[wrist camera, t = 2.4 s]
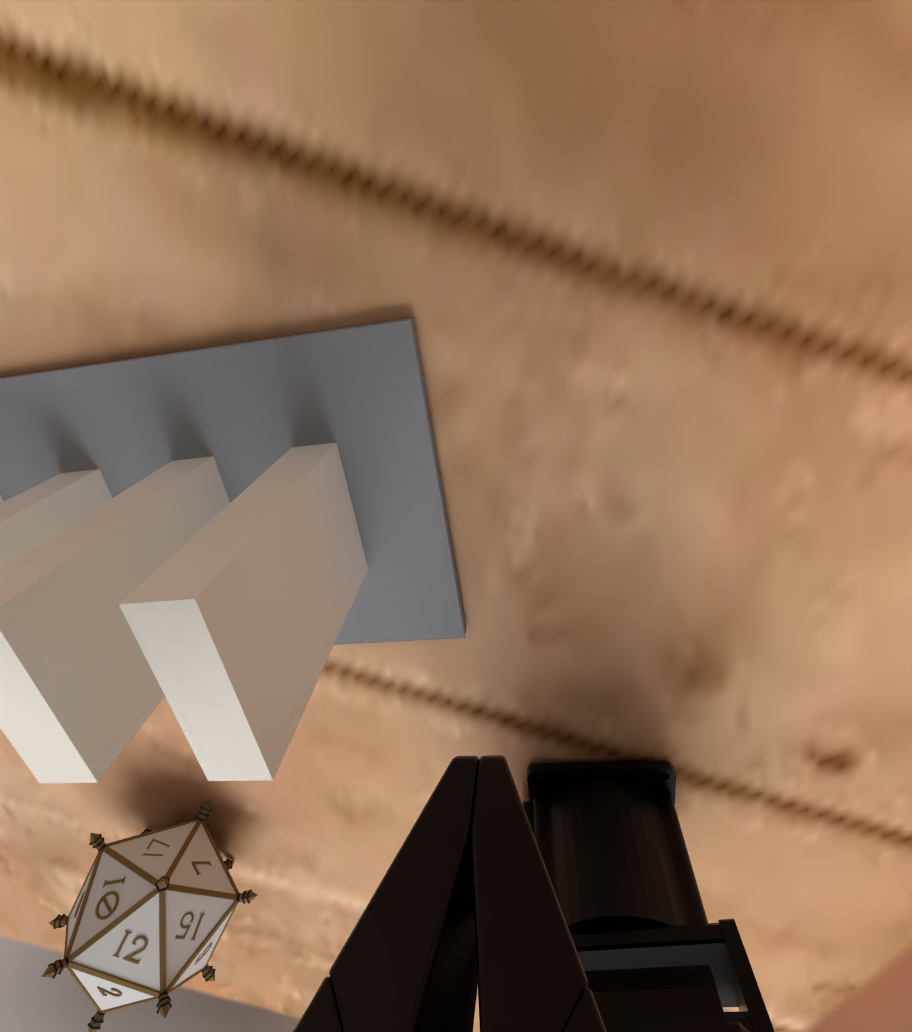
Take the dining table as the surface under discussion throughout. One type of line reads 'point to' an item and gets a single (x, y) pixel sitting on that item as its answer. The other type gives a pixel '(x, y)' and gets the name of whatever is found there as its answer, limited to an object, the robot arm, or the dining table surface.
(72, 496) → the domino
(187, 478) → the domino
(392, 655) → the dining table surface
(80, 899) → the game die
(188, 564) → the domino
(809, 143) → the dining table surface
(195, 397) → the slate mat
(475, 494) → the dining table surface
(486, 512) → the dining table surface
